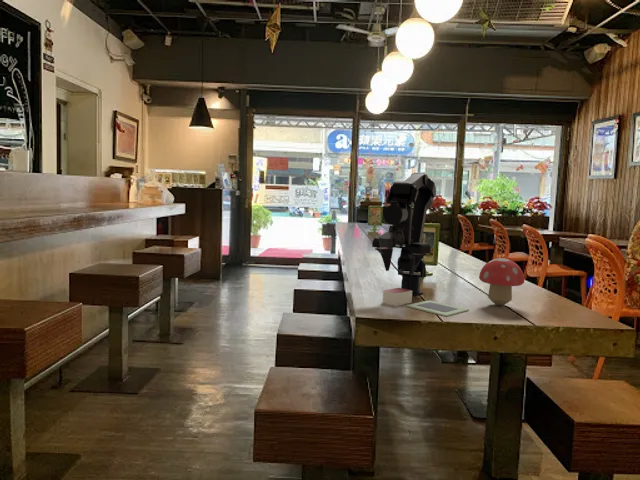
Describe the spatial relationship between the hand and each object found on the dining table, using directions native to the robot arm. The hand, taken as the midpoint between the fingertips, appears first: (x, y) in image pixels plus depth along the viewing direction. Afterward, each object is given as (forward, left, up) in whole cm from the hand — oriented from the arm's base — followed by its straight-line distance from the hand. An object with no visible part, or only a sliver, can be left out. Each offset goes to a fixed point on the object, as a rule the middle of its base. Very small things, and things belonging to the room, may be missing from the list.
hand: (398, 273), depth 154 cm
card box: (0, 0, -10) cm, 10 cm away
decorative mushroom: (-25, +21, -10) cm, 34 cm away
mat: (-4, +12, -9) cm, 16 cm away
